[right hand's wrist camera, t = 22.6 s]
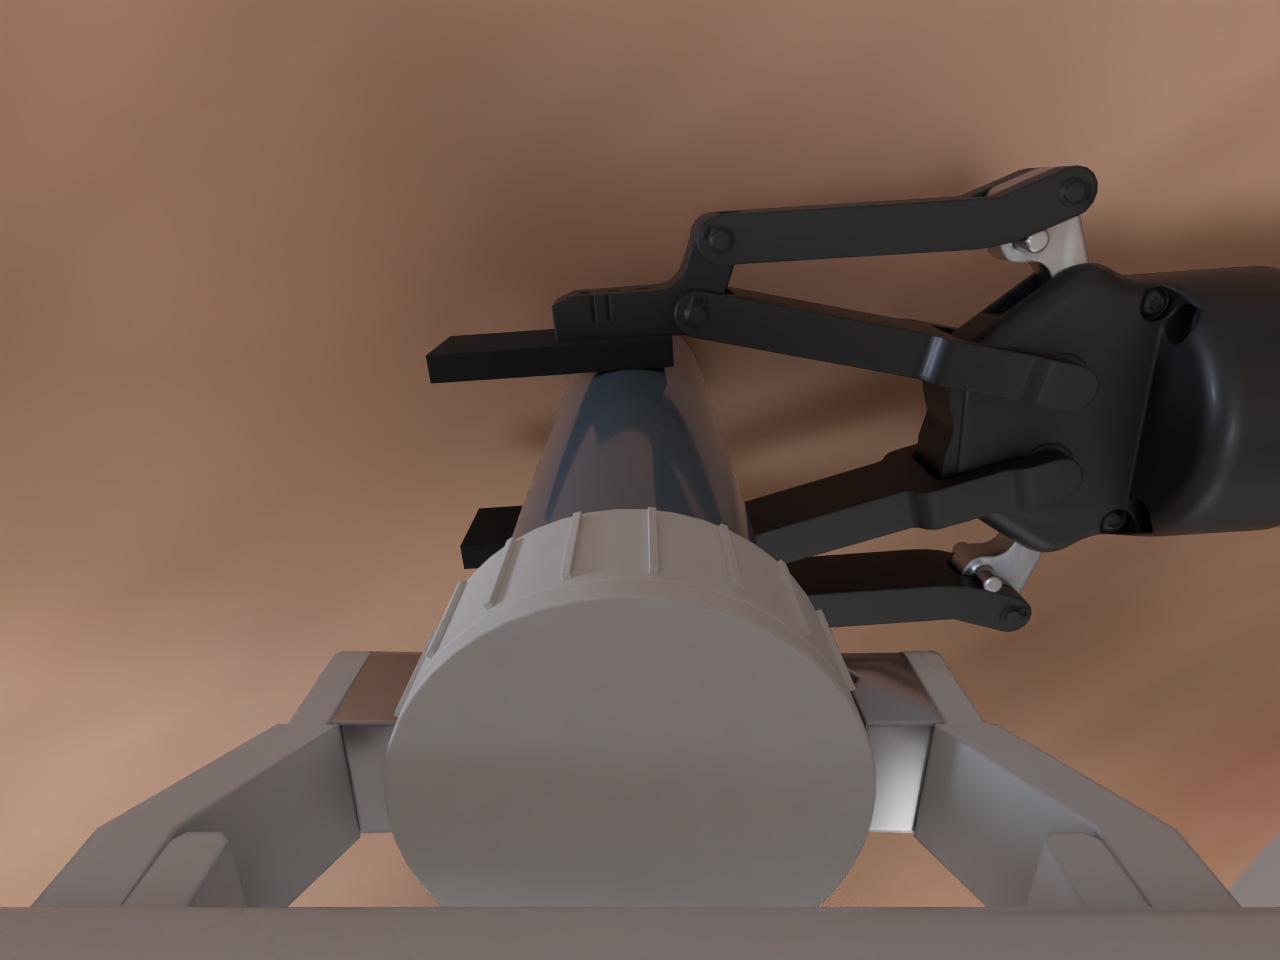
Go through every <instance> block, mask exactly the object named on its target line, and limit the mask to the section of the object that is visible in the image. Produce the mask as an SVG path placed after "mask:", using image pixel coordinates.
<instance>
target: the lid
mask: <svg viewBox="0 0 1280 960" xmlns="http://www.w3.org/2000/svg"><path fill="white" fill-rule="evenodd" d="M855 689H856V687H855V685H854V683H853V680H852V678H851V676H850V673H849V671H848V669H847V667H846V664H845V662H844V660H843V657H842V655H841V653H840V650H839V648H838V646H837V643H836V641H835V639H834V637H833V634H832V632H831V630H830V627H829V625H828V623H827V620H826V618H825V616H824V614H823V612H822V610H821V609H820V610H817V611H815V609H814V607H813V605H812V603H811V602H810V600H809V598H808V596H807V595H806V593H805V592H804V591H803V589H802V588H801V587H800V586H799V584H798V583H797V582H796V580H795V579H794V578H793V576H792V575H791V574H790V573H789V570H788V568H787V565H786V563H785V562H784V561H782V560H779V561H778V562H777V561H776V560H775V559H774V558H773V557H771V556H770V555H769V554H767V553H766V552H765V551H763V550H762V549H760V548H759V547H758V546H756V545H755V544H754V543H752V542H750V541H748V540H747V539H745V538H743V537H741V536H739V535H737V534H735V533H734V532H732V531H730V530H729V529H728V526H726V525H724V524H720V526H718V525H715V524H712V523H710V522H707V521H705V520H702V519H698V518H694V517H690V516H686V515H682V514H678V513H673V512H665V511H657V510H656V508H655V507H648V509H614V510H605V511H597V512H589V513H585V514H582V513H581V511H580V512H575V513H573V516H572V517H568V518H564V519H561V520H558V521H555V522H553V523H550V524H547V525H545V526H542V527H539V528H537V529H534V530H533V531H531V532H529V533H527V534H525V535H523V536H521V537H519V538H517V539H516V540H515V539H514V537H512V538H510V539H508V540H507V541H506V544H505V547H503V548H502V549H501V550H499V551H498V552H496V553H495V554H494V555H492V556H491V557H490V558H489V559H488V560H487V561H486V562H484V563H483V564H482V565H481V566H480V567H479V568H478V569H477V570H476V571H475V572H474V573H473V574H472V575H471V576H470V578H469V579H468V580H467V581H466V582H465V581H463V580H461V581H460V582H459V583H458V584H457V586H456V589H455V591H454V593H453V595H452V597H451V599H450V601H449V604H448V606H447V608H446V610H445V612H444V614H443V617H442V619H441V621H440V623H439V625H438V627H437V629H436V632H435V634H434V633H432V634H431V636H430V638H429V640H428V642H427V644H426V646H425V648H424V650H423V653H422V655H421V657H420V659H419V661H418V663H417V665H416V667H415V670H414V672H413V674H412V676H411V678H410V680H409V682H408V684H407V686H406V689H405V691H404V693H403V695H402V697H401V699H400V701H399V703H398V706H397V708H396V710H395V713H394V716H396V717H398V719H397V721H396V724H395V727H394V729H393V732H392V735H391V738H390V740H389V744H388V749H387V754H386V760H385V765H384V797H385V804H386V810H387V816H388V820H389V823H390V826H391V829H392V832H393V835H394V838H395V841H396V844H397V845H398V847H399V849H400V851H401V853H402V855H403V857H404V859H405V861H406V863H407V865H408V866H409V867H410V869H411V870H412V872H413V873H414V874H415V876H416V877H417V879H418V880H419V881H420V883H421V884H422V885H423V886H424V888H425V889H426V890H427V891H428V892H429V893H430V894H431V895H432V896H433V897H434V898H435V899H436V900H437V901H438V902H439V903H440V904H441V905H442V906H443V907H819V906H820V905H821V904H822V903H823V902H824V901H825V900H826V898H827V897H828V896H829V895H830V894H831V893H832V892H833V891H834V890H835V889H836V888H837V887H838V885H839V884H840V883H841V881H842V880H843V879H844V877H845V876H846V874H847V873H848V872H849V870H850V869H851V868H852V866H853V864H854V862H855V860H856V858H857V856H858V855H859V853H860V851H861V849H862V847H863V845H864V842H865V839H866V836H867V833H868V830H869V828H870V825H871V822H872V816H873V810H874V804H875V798H876V769H875V764H874V758H873V752H872V747H871V743H870V741H869V738H868V735H867V732H866V730H865V727H864V724H863V721H862V719H861V716H860V714H859V712H858V709H857V707H856V705H855V702H854V700H853V697H852V695H851V692H850V691H852V690H855Z"/></svg>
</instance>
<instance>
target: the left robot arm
mask: <svg viewBox="0 0 1280 960" xmlns="http://www.w3.org/2000/svg"><path fill="white" fill-rule="evenodd" d="M1096 194H1097V179H1096V177H1095V175H1094V173H1093V172H1092V171H1091V170H1089V169H1088V168H1087V167H1082V166H1062V167H1043V168H1027V169H1023V170H1019V171H1017V172H1014V173H1012V174H1010V175H1007V176H1005V177H1003V178H1000V179H998V180H996V181H994V182H991V183H989V184H987V185H984V186H982V187H980V188H977V189H975V190H973V191H971V192H968V193H966V194H964V195H961V196H957V197H941V198H925V199H909V200H894V201H878V202H862V203H846V204H830V205H814V206H798V207H783V208H767V209H751V210H735V211H719V212H709V213H706V214H702V215H701V216H700V217H699V218H697V219H696V220H695V222H694V224H693V225H692V227H691V233H690V239H689V242H688V245H687V249H686V252H685V255H684V259H683V262H682V265H681V267H680V269H679V271H678V272H677V274H676V275H675V276H674V277H673V278H671V279H670V280H669V281H667V282H665V283H661V284H656V285H642V286H628V287H614V288H600V289H585V290H574V291H572V292H570V293H568V294H566V295H564V296H562V297H560V298H558V299H557V300H556V301H555V303H554V304H553V305H552V312H553V321H554V329H549V330H534V331H520V332H505V333H491V334H477V335H462V336H450V337H449V338H448V339H446V340H445V341H444V342H443V343H441V344H440V345H439V346H437V347H436V348H435V349H434V350H432V351H431V352H430V353H428V354H427V355H426V360H427V365H428V371H429V376H430V382H431V383H444V382H459V381H474V380H489V379H503V378H518V377H533V376H547V375H562V374H577V373H591V372H606V371H621V370H636V369H650V368H665V367H674V357H673V338H672V336H675V335H688V336H690V337H693V338H699V339H704V340H710V341H715V342H721V343H726V344H732V345H737V346H742V347H748V348H753V349H759V350H764V351H770V352H775V353H781V354H786V355H792V356H797V357H803V358H808V359H813V360H819V361H824V362H830V363H835V364H841V365H846V366H852V367H857V368H863V369H868V370H874V371H879V372H885V373H890V374H895V375H901V376H906V377H912V378H916V379H920V380H922V381H923V385H922V386H923V391H924V396H925V401H926V406H927V413H926V416H925V419H924V422H923V424H922V427H921V430H920V433H919V436H918V444H915V445H911V446H908V447H905V448H901V449H898V450H895V451H892V452H890V453H888V454H887V455H885V457H884V458H883V460H881V461H880V462H877V463H874V464H871V465H867V466H864V467H861V468H857V469H854V470H851V471H847V472H844V473H841V474H837V475H834V476H831V477H827V478H824V479H820V480H817V481H814V482H810V483H807V484H804V485H800V486H797V487H794V488H790V489H787V490H784V491H780V492H777V493H774V494H770V495H767V496H763V497H760V498H757V499H753V500H750V501H747V502H745V505H746V508H747V511H748V514H749V517H750V520H751V523H752V525H753V528H754V531H755V534H756V537H757V540H758V543H759V546H760V549H762V550H763V551H765V552H766V553H767V554H769V555H770V556H771V557H773V558H774V559H775V560H776V561H777V562H778V561H779V560H782V561H784V562H785V563H786V565H787V568H788V570H789V573H790V574H791V575H792V576H793V578H794V579H795V580H796V582H797V583H798V584H799V586H800V587H801V588H802V589H803V591H804V592H805V593H806V595H807V596H808V598H809V600H810V602H811V603H812V605H813V607H814V609H815V611H817V610H820V609H821V610H822V612H823V614H824V616H825V618H826V620H827V623H828V625H829V627H843V626H858V625H873V624H887V623H902V622H917V621H932V620H946V619H955V620H960V621H964V622H968V623H972V624H976V625H980V626H984V627H988V628H992V629H996V630H1000V631H1007V632H1011V631H1015V630H1018V629H1020V628H1021V627H1023V626H1025V624H1026V623H1027V622H1028V621H1029V620H1030V616H1031V607H1030V605H1029V604H1028V603H1027V602H1026V601H1025V600H1024V598H1023V597H1022V596H1021V595H1020V592H1021V591H1022V589H1023V587H1024V585H1025V583H1026V581H1027V579H1028V578H1029V576H1030V574H1031V572H1032V570H1033V568H1034V567H1035V565H1036V563H1037V561H1038V559H1039V557H1040V555H1041V554H1042V552H1054V551H1058V550H1061V549H1064V548H1066V547H1068V546H1070V545H1072V544H1073V543H1075V542H1077V541H1080V540H1082V539H1084V538H1087V537H1090V536H1094V535H1098V534H1117V535H1130V536H1172V535H1188V534H1204V533H1220V532H1236V531H1252V530H1262V529H1269V528H1273V527H1276V526H1277V527H1280V267H1276V268H1273V267H1267V266H1247V267H1233V268H1219V269H1205V270H1191V271H1177V272H1162V273H1148V274H1134V275H1121V274H1119V273H1117V272H1115V271H1113V270H1112V269H1110V268H1108V267H1106V266H1103V265H1101V264H1096V263H1089V259H1088V254H1087V249H1086V244H1085V238H1084V233H1083V228H1082V223H1081V218H1080V214H1082V213H1083V212H1085V211H1086V210H1087V209H1088V208H1089V207H1090V205H1091V204H1092V203H1093V202H1094V199H1095V197H1096ZM983 248H987V250H988V252H989V253H990V254H991V256H993V257H995V258H996V259H1000V260H1005V261H1011V262H1016V263H1023V262H1028V263H1029V264H1030V265H1031V266H1032V268H1033V270H1034V273H1032V274H1031V275H1030V276H1028V277H1027V278H1026V279H1024V280H1023V281H1022V282H1020V283H1019V284H1017V285H1016V286H1015V287H1013V288H1012V289H1011V290H1009V291H1008V292H1007V293H1005V294H1004V295H1003V296H1001V297H1000V298H999V299H997V300H996V301H995V302H993V303H992V304H990V305H989V306H988V307H986V308H985V309H984V310H982V311H981V312H980V313H978V314H977V315H976V316H974V317H973V318H972V319H970V320H969V321H967V322H966V323H965V324H963V325H962V326H961V327H959V328H954V327H949V326H943V325H938V324H933V323H927V322H922V321H917V320H911V319H898V318H892V317H887V316H881V315H876V314H871V313H865V312H860V311H855V310H849V309H844V308H839V307H834V306H828V305H823V304H818V303H812V302H807V301H802V300H796V299H791V298H786V297H781V296H775V295H770V294H765V293H759V292H754V291H749V290H743V289H738V288H733V287H728V283H729V280H730V277H731V273H732V270H733V267H734V264H748V263H764V262H780V261H796V260H813V259H829V258H845V257H861V256H878V255H894V254H910V253H926V252H943V251H959V250H974V249H983ZM521 509H522V506H510V507H495V508H479V510H478V512H477V514H476V516H475V518H474V520H473V522H472V524H471V526H470V528H469V530H468V532H467V534H466V536H465V538H464V540H463V542H462V544H461V546H460V548H461V553H462V559H463V564H464V569H471V568H479V567H480V566H481V565H482V564H483V563H484V562H486V561H487V560H488V559H489V558H490V557H491V556H492V555H494V554H495V553H496V552H498V551H499V550H501V549H502V548H503V547H505V544H506V541H507V540H508V539H510V538H511V535H512V533H513V530H514V527H515V525H516V522H517V519H518V517H519V514H520V511H521ZM977 518H978V519H980V520H981V521H983V522H984V523H986V524H987V525H989V526H991V527H992V528H994V529H995V530H997V531H998V532H999V533H998V535H997V536H996V537H995V538H993V539H992V540H990V541H988V542H985V543H970V544H968V543H966V542H959V543H957V544H956V545H955V546H954V547H953V550H952V553H950V552H945V551H940V550H929V549H914V550H899V551H884V552H870V553H856V554H842V555H828V556H814V555H818V554H821V553H825V552H828V551H832V550H835V549H839V548H842V547H846V546H849V545H853V544H856V543H860V542H863V541H867V540H870V539H874V538H877V537H881V536H884V535H888V534H891V533H895V532H898V531H902V530H905V529H909V528H914V527H919V528H923V529H927V530H936V529H941V528H945V527H949V526H952V525H956V524H959V523H963V522H966V521H970V520H973V519H977ZM811 556H814V557H811Z"/></svg>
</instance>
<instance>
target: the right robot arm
mask: <svg viewBox="0 0 1280 960" xmlns="http://www.w3.org/2000/svg"><path fill="white" fill-rule="evenodd" d="M422 653H423V652H382V651H376V652H372V651H341V652H339V653H337V654H335V655H334V656H333V657H332V659H331V660H330V662H329V663H328V665H327V666H326V668H325V669H324V671H323V672H322V674H321V675H320V677H319V678H318V680H317V681H316V683H315V684H314V686H313V687H312V689H311V690H310V692H309V693H308V695H307V696H306V698H305V699H304V701H303V702H302V704H301V705H300V707H299V708H298V710H297V711H296V713H295V714H294V716H293V717H292V719H291V720H290V722H289V723H288V724H277V725H275V726H273V727H272V728H270V729H268V730H266V731H265V732H263V733H261V734H259V735H258V736H256V737H254V738H253V739H251V740H249V741H247V742H246V743H244V744H242V745H240V746H239V747H237V748H235V749H234V750H232V751H230V752H228V753H227V754H225V755H223V756H221V757H220V758H218V759H216V760H215V761H213V762H211V763H209V764H208V765H206V766H204V767H202V768H201V769H199V770H197V771H196V772H194V773H192V774H190V775H189V776H187V777H185V778H183V779H182V780H180V781H178V782H177V783H175V784H173V785H171V786H170V787H168V788H166V789H164V790H163V791H161V792H159V793H158V794H156V795H154V796H152V797H151V798H149V799H147V800H146V801H144V802H142V803H140V804H139V805H137V806H135V807H133V808H132V809H130V810H128V811H127V812H125V813H123V814H121V815H120V816H118V817H116V818H114V819H113V820H111V821H109V822H108V823H106V824H104V825H102V826H101V827H99V828H97V829H96V830H95V832H94V833H93V834H92V835H91V836H90V837H89V839H88V840H87V841H86V842H85V843H84V844H83V846H82V847H81V848H80V849H79V850H78V851H77V853H76V854H75V855H74V856H73V857H72V858H71V860H70V861H69V862H68V863H67V864H66V865H65V867H64V868H63V869H62V870H61V871H60V872H59V874H58V875H57V876H56V877H55V878H54V880H53V881H52V882H51V883H50V884H49V885H48V887H47V888H46V889H45V890H44V891H43V892H42V894H41V895H40V896H39V897H38V898H37V899H36V901H35V902H34V903H33V904H32V905H31V906H30V907H0V960H1280V907H1241V906H1240V905H1239V903H1238V902H1237V901H1236V900H1235V899H1234V897H1233V896H1232V895H1231V894H1230V893H1229V891H1228V890H1227V889H1226V888H1225V887H1224V885H1223V884H1222V883H1221V882H1220V881H1219V879H1218V878H1217V877H1216V876H1215V875H1214V873H1213V872H1212V871H1211V870H1210V869H1209V868H1208V866H1207V865H1206V864H1205V863H1204V862H1203V860H1202V859H1201V858H1200V857H1199V856H1198V854H1197V853H1196V852H1195V851H1194V850H1193V848H1192V847H1191V846H1190V845H1189V844H1188V842H1187V841H1186V840H1185V839H1184V838H1183V837H1182V835H1181V834H1180V833H1179V832H1178V831H1177V830H1176V829H1175V828H1173V827H1171V826H1170V825H1168V824H1166V823H1165V822H1163V821H1161V820H1159V819H1158V818H1156V817H1154V816H1153V815H1151V814H1149V813H1147V812H1146V811H1144V810H1142V809H1141V808H1139V807H1137V806H1135V805H1134V804H1132V803H1130V802H1129V801H1127V800H1125V799H1124V798H1122V797H1120V796H1118V795H1117V794H1115V793H1113V792H1112V791H1110V790H1108V789H1106V788H1105V787H1103V786H1101V785H1100V784H1098V783H1096V782H1094V781H1093V780H1091V779H1089V778H1088V777H1086V776H1084V775H1083V774H1081V773H1079V772H1077V771H1076V770H1074V769H1072V768H1071V767H1069V766H1067V765H1065V764H1064V763H1062V762H1060V761H1059V760H1057V759H1055V758H1054V757H1052V756H1050V755H1048V754H1047V753H1045V752H1043V751H1042V750H1040V749H1038V748H1036V747H1035V746H1033V745H1031V744H1030V743H1028V742H1026V741H1024V740H1023V739H1021V738H1019V737H1018V736H1016V735H1014V734H1013V733H1011V732H1009V731H1007V730H1006V729H1004V728H1002V727H1001V726H999V725H997V724H986V723H985V722H984V720H983V719H982V717H981V716H980V714H979V713H978V711H977V710H976V708H975V707H974V705H973V704H972V702H971V701H970V699H969V698H968V696H967V695H966V693H965V692H964V690H963V689H962V687H961V686H960V684H959V683H958V681H957V680H956V678H955V677H954V675H953V674H952V672H951V671H950V669H949V668H948V666H947V665H946V663H945V661H944V660H943V658H942V657H941V655H940V654H938V653H937V652H935V651H912V652H899V653H841V655H842V657H843V660H844V662H845V664H846V667H847V669H848V671H849V673H850V676H851V678H852V680H853V683H854V685H855V687H856V689H855V690H852V691H850V692H851V695H852V697H853V700H854V702H855V705H856V707H857V709H858V712H859V714H860V716H861V719H862V721H863V724H864V727H865V730H866V732H867V735H868V738H869V741H870V743H871V747H872V752H873V758H874V764H875V769H876V798H875V804H874V810H873V816H872V822H871V825H870V828H869V830H868V832H889V833H914V837H915V838H916V839H917V840H918V841H919V842H920V843H921V844H922V845H923V846H924V847H925V848H926V849H927V850H928V851H929V852H930V853H931V854H932V855H934V856H935V857H936V858H937V859H938V860H939V861H940V862H941V863H942V864H943V865H944V866H945V867H946V868H947V869H948V870H949V871H950V872H951V873H952V874H953V875H954V876H955V877H956V878H957V879H958V880H959V881H960V882H961V883H962V884H963V885H964V886H965V887H966V888H967V889H969V890H970V891H971V892H972V893H973V894H974V895H975V896H976V897H977V898H978V899H979V900H980V901H981V902H982V903H983V904H984V905H985V906H986V907H288V906H289V905H290V904H291V903H292V902H293V901H294V900H295V899H296V898H297V897H298V896H299V895H300V894H301V893H302V892H304V891H305V890H306V889H307V888H308V887H309V886H310V885H311V884H312V883H313V882H314V881H315V880H316V879H317V878H318V877H319V876H320V875H321V874H322V873H323V872H324V871H325V870H326V869H327V868H329V867H330V866H331V865H332V864H333V863H334V862H335V861H336V860H337V859H338V858H339V857H340V856H341V855H342V854H343V853H344V852H345V851H346V850H347V849H348V848H349V847H350V846H351V845H352V844H354V843H355V842H356V841H357V840H358V839H359V838H360V833H385V832H392V829H391V826H390V823H389V820H388V816H387V810H386V804H385V797H384V765H385V760H386V754H387V749H388V744H389V740H390V738H391V735H392V732H393V729H394V727H395V724H396V721H397V719H398V717H396V716H394V713H395V710H396V708H397V706H398V703H399V701H400V699H401V697H402V695H403V693H404V691H405V689H406V686H407V684H408V682H409V680H410V678H411V676H412V674H413V672H414V670H415V667H416V665H417V663H418V661H419V659H420V657H421V655H422Z"/></svg>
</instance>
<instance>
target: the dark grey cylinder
mask: <svg viewBox="0 0 1280 960" xmlns="http://www.w3.org/2000/svg"><path fill="white" fill-rule="evenodd" d="M672 338H673V357H674V367H665V368H650V369H636V370H621V371H606V372H591V373H577V374H572V375H571V377H570V380H569V383H568V386H567V388H566V391H565V394H564V396H563V399H562V402H561V404H560V407H559V410H558V412H557V415H556V418H555V420H554V423H553V426H552V428H551V431H550V434H549V436H548V439H547V442H546V444H545V447H544V450H543V452H542V455H541V458H540V461H539V463H538V466H537V469H536V471H535V474H534V477H533V479H532V482H531V485H530V487H529V490H528V493H527V495H526V498H525V501H524V503H523V506H522V509H521V511H520V514H519V517H518V519H517V522H516V525H515V527H514V530H513V533H512V535H511V538H512V537H514V539H515V540H516V539H517V538H519V537H521V536H523V535H525V534H527V533H529V532H531V531H533V530H534V529H537V528H539V527H542V526H545V525H547V524H550V523H553V522H555V521H558V520H561V519H564V518H568V517H572V516H573V513H575V512H580V511H581V513H582V514H585V513H589V512H597V511H605V510H614V509H648V507H655V508H656V510H657V511H665V512H673V513H678V514H682V515H686V516H690V517H694V518H698V519H702V520H705V521H707V522H710V523H712V524H715V525H718V526H720V524H724V525H726V526H728V529H729V530H730V531H732V532H734V533H735V534H737V535H739V536H741V537H743V538H745V539H747V540H748V541H750V542H752V543H754V544H755V545H756V546H758V547H759V548H760V546H759V543H758V540H757V537H756V534H755V531H754V528H753V525H752V523H751V520H750V517H749V514H748V511H747V508H746V505H745V502H744V499H743V496H742V493H741V490H740V487H739V484H738V481H737V478H736V475H735V472H734V469H733V466H732V463H731V460H730V457H729V454H728V451H727V448H726V445H725V442H724V439H723V436H722V433H721V430H720V427H719V424H718V421H717V418H716V415H715V412H714V409H713V406H712V403H711V400H710V397H709V394H708V391H707V388H706V385H705V382H704V379H703V376H702V373H701V370H700V367H699V365H698V362H697V359H696V357H695V355H694V353H693V351H692V349H691V348H690V347H689V345H688V344H687V343H686V341H685V340H684V339H683V338H682V337H681V336H679V335H675V336H672Z"/></svg>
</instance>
